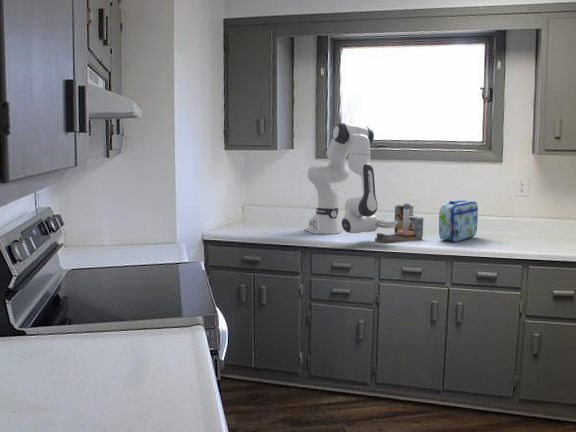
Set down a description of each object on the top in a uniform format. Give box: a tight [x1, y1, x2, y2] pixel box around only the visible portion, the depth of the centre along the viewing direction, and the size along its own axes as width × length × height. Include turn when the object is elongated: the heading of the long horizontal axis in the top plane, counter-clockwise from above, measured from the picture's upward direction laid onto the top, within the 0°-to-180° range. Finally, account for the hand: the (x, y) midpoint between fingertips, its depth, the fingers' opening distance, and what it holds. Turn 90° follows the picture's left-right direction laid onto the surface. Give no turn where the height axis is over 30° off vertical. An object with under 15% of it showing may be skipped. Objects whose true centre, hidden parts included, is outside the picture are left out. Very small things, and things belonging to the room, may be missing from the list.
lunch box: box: [438, 200, 479, 243], centre depth 333 cm, size 26×11×21 cm, turn 134°
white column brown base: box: [397, 202, 415, 235], centre depth 333 cm, size 7×6×16 cm
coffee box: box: [393, 204, 414, 235], centre depth 348 cm, size 9×6×16 cm
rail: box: [374, 215, 424, 244], centre depth 331 cm, size 10×25×12 cm, turn 122°
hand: (390, 221), depth 327 cm, fingers open, 8 cm apart
